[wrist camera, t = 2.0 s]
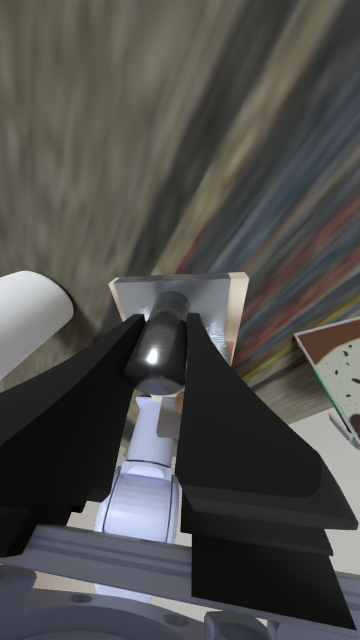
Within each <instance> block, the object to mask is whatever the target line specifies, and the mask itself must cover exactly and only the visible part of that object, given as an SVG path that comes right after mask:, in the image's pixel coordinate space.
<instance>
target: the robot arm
mask: <svg viewBox="0 0 360 640" xmlns="http://www.w3.org/2000/svg"><path fill="white" fill-rule="evenodd" d="M186 322H187V338H188V356H187V368H186V378H185V388H184V397H183V407H182V415H181V424H180V432H179V440H178V448H177V456H176V464H175V472H174V473H175V475H173V474H172V468H171V462H172V453H173V443H174V439H172V438H160V437H158V436H157V434H156V429H157V424H158V418H159V413H160V407H161V402H153V400H152V397H136V399H135V400H136V402H137V403H138V405H139V407H140V412H139V415H138V419H137V422H136V426H135V429H134V433H133V436H132V440H131V444H130V447H129V451H128V454H127V458H126V461H123V464H122V466H118V467H117V469H115V468H116V462H117V457H118V452H119V448H120V443H121V439H122V434H123V430H124V425H125V421H126V417H127V413H128V409H129V405H130V402H131V398H132V394H133V391H134V388H133V387H132V386H131V385H130V384H129V383H128V382H127V381H126V379H125V377H124V370H125V368H126V366H127V363H128V361H129V359H130V357H131V355H132V352H133V350H134V348H135V346H136V343H137V341H138V339H139V337H140V335H141V332H142V330H143V328H144V326H145V324H146V320H145V316H144V314H133V315H132V316H130V317H129V318H127V319H126V320H125V321H123V322H122V323H121V324H120V325H118V326H117V327H116V328H114V329H113V330H112V331H110V332H109V333H108V334H106V335H105V336H103V337H102V338H100V339H99V340H98V341H96V342H95V343H93V344H92V345H90V346H89V347H87V348H86V349H84V350H83V351H81V352H79V353H78V354H76V355H74V356H73V357H71V358H69V359H68V360H66V361H64V362H62V363H60V364H59V365H57V366H55V367H53V368H51V369H49V370H47V371H45V372H43V373H41V374H39V375H38V376H36V377H34V378H32V379H29V380H27V381H25V382H23V383H21V384H19V385H17V386H15V387H12V388H10V389H8V390H6V391H4V392H1V393H0V563H1V564H5V565H0V640H360V575H356V574H350V573H344V572H338V571H334V569H333V566H332V564H331V561H330V559H329V556H333V550H332V548H331V545H330V543H329V540H328V538H327V535H326V533H325V530H324V529H340V530H357V527H358V524H359V523H358V521H357V519H356V517H355V515H354V513H353V511H352V509H351V508H350V506H349V504H348V502H347V500H346V498H345V496H344V495H343V493H342V490H341V489H340V487H339V485H338V484H337V482H336V481H335V479H334V477H333V475H332V474H331V472H330V471H329V469H328V467H327V466H326V464H325V463H324V461H323V459H322V458H321V456H320V454H319V453H318V452H317V451H316V450H314V449H313V448H312V447H311V446H310V445H309V444H308V443H307V442H306V441H304V440H303V439H302V438H301V437H300V436H299V435H298V434H297V433H296V432H294V431H293V430H292V429H291V428H290V427H289V426H288V425H287V424H286V423H285V422H284V421H283V420H281V419H280V418H279V417H278V416H277V415H276V414H275V413H274V412H273V411H272V410H271V409H270V408H269V407H268V406H267V405H266V404H265V403H264V402H263V401H262V400H261V399H260V398H259V397H258V396H257V395H256V394H255V393H254V392H253V391H252V390H251V389H250V388H249V387H248V386H247V384H246V383H245V382H244V381H243V380H242V379H241V378H240V377H239V376H238V375H237V373H236V372H235V371H234V370H233V369H232V368H231V366H230V365H229V364H228V363H227V361H226V360H225V359H224V357H223V356H222V355H221V353H220V352H219V351H218V349H217V348H216V346H215V345H214V343H213V341H212V340H211V338H210V336H209V335H208V333H207V331H206V329H205V327H204V325H203V323H202V320H201V317H200V314H199V313H187V319H186ZM176 477H177V478H176ZM177 479H178V480H177ZM179 484H180V486H181V488H182V507H181V527H180V530H181V532H182V533H188V534H192V547H189V546H182V545H177V544H174V543H175V542H174V541H175V537H176V531H177V522H178V509H179ZM86 501H93V502H100V503H101V504H100V508H99V511H98V515H97V519H96V524H95V529H94V531H92V530H87V529H80V528H74V527H68V526H66V525H67V522H68V520H69V517H70V515H71V512H77V513H82V511H83V509H84V507H85V504H86ZM328 555H329V556H328ZM34 571H38V572H43V573H48V574H53V575H57V576H62V577H67V578H71V579H76V580H81V581H86V582H90V583H94V586H95V588H96V592H97V594H90V593H79V592H68V591H58V590H46V589H36V588H32V587H33V585H34V583H35V580H36V578H37V577H36V573H35V572H34ZM152 596H157V597H162V598H166V599H171V600H177V601H180V602H185V603H190V604H195V605H199V606H204V607H209V608H214V609H218V610H223V611H214V612H213V611H211V612H207V613H206V615H205V617H204V623H203V622H201V621H198V620H195V619H192V618H190V617H187V616H184V615H181V614H179V613H176V612H173V611H171V610H168V609H165V608H162V607H159V606H155V605H152V604H148V601H149V600H150V599H151V598H152ZM255 617H256V618H261V619H266V620H268V622H267V628H266V627H265V626H264V625H263V624H262V623H261V622H260V621H259V620H258V619H256V618H255Z"/></svg>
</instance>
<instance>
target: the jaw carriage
mask: <svg viewBox="0 0 360 640" xmlns="http://www.w3.org/2000/svg"><path fill="white" fill-rule="evenodd" d="M230 282H231V278H230V276H229V274H228V272H224V273H202V274H179V275H157V276H134V277H120V278H119V279H118V280H116V281H115V282H114V283H113V284H114V287H115V289H116V292H117V295H118V298H119V301H120V303H121V306H122V309H123V312H124V315H125V317H126V319H127V318H129V317H130V316H132V315H133V314H144V316H145V320H146V324H145V326H144V328H143V330H142V332H141V335H140V337H139V339H138V341H137V343H136V346H135V348H134V350H133V352H132V355H131V357H130V359H129V361H128V363H127V366H126V368H125V370H124V377H125V379H126V381H127V382H128V383H129V384H130V385H131V386H132V387H133V388H135V389H137V390H139V391H141V392H144V393H147V394H151V395H158V396H165V395H172V394H175V393H177V392H179V391H181V390H182V389H183V387H184V386H185V376H186V368H187V356H188V338H187V322H186V319H187V313H199V314H200V317H201V320H202V323H203V325H204V327H205V329H206V331H207V333H208V335H209V336H210V338H211V340H212V341H213V343H214V345H215V346H216V348H217V349H218V351H219V352H220V353H221V355H222V356H223V357H224V359H225V360H226V361H227V363H228V364H229V365H230V359H229V355H228V350H227V346H226V342H225V337H224V328H225V320H226V313H227V305H228V298H229V290H230Z"/></svg>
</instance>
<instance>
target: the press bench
mask: <svg viewBox="0 0 360 640" xmlns="http://www.w3.org/2000/svg"><path fill="white" fill-rule="evenodd" d="M228 274H229V276H230V278H231V282H230V290H229V298H228V305H227V313H226V320H225V328H224V337H225V342H226V346H227V350H228V355H229V359H230V366H231V364H232V359H233V354H234V349H235V345H236V340H237V335H238V330H239V325H240V320H241V316H242V311H243V306H244V301H245V296H246V291H247V287H248V282H249V277H248V276H247V275H246V274H245V272H236V273H228ZM118 279H119V278H115V279H114V280H113V281H111V282H110V283H109V286H110V289H111V291H112V294H113V297H114V299H115V302H116V305H117V307H118V310H119V313H120V315H121V318H122V321H125V320H126V317H125V315H124V312H123V309H122V306H121V303H120V301H119V298H118V295H117V292H116V289H115V287H114V284H113V283H114V282H115V281H116V280H118ZM185 378H186V376H185ZM184 388H185V386H184V387H183V389H182V390H181V391H179V392H177V393H175V394H172V395H165V396H158V395H151V394H150V395H151V397H152V400H153V402H161V407H160V413H159V418H158V424H157V429H156V434H157V436H158V437H160V438H172V439H179V432H180V424H181V415H182V407H183V397H184Z"/></svg>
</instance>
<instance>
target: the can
mask: <svg viewBox="0 0 360 640" xmlns="http://www.w3.org/2000/svg"><path fill="white" fill-rule="evenodd" d="M72 316H73V304H72V301H71V299H70V297H69V296H68V294H67V293H66V292H65V291H64V290H63V288H62V287H60V286H59V285H58V284H57V283H55V282H54V281H53V280H51V279H49V278H47V277H45V276H43V275H40V274H37V273H34V272H30V271H20V272H17V273H13V274H10V275H7V276H4V277H1V278H0V380H1V379H2V378H3V377H5V376H6V375H7V374H8V373H9V372H10V371H12V370H13V369H14V368H15V367H16V366H17V365H19V364H20V363H21V362H22V361H23V360H24V359H26V358H27V357H28V356H29V355H30V354H31V353H33V352H34V351H35V350H36V349H37V348H38V347H40V346H41V345H42V344H43V343H44V342H45V341H47V340H48V339H49V338H50V337H51V336H52V335H53V334H55V333H56V332H57V331H58V330H59V329H60V328H62V327H63V326H64V325H65V324H66V323H67V322H68V321H69V320H70V319H71V318H72Z"/></svg>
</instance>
